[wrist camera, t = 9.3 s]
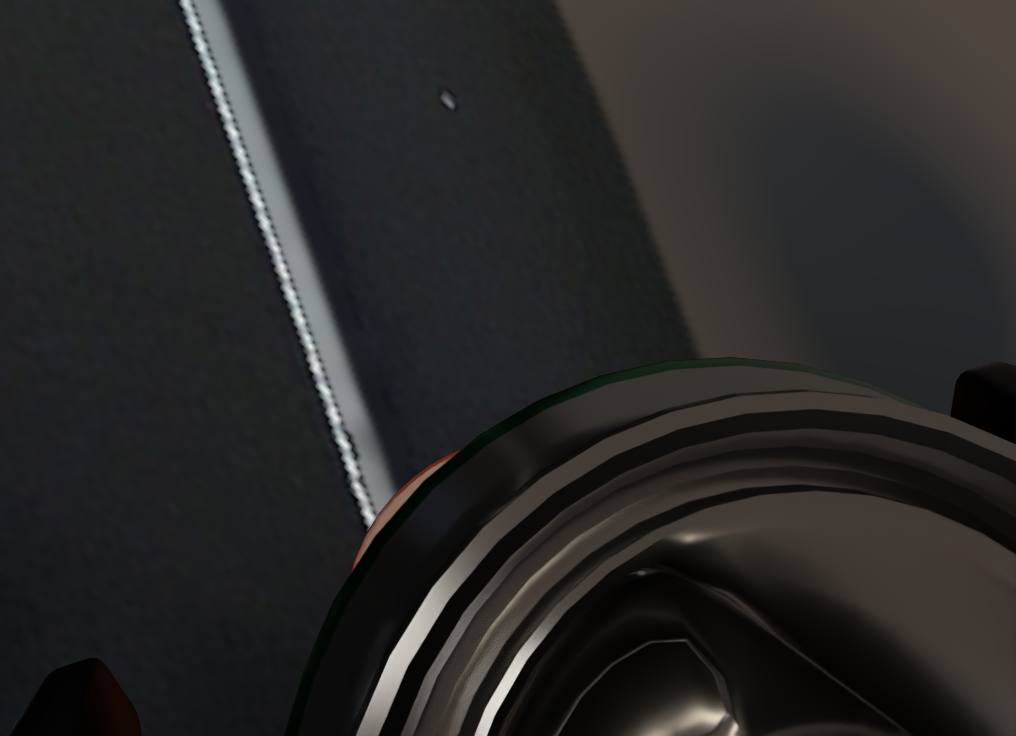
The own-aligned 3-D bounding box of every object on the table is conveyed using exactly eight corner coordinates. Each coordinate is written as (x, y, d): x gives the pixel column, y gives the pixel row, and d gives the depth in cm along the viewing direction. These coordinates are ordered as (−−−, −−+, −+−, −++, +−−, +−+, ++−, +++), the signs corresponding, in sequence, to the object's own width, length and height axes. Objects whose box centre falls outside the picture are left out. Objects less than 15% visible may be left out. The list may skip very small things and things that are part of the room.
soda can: (469, 434, 16) (573, 124, 4) (723, 567, 16) (1532, 620, 4) (326, 704, 15) (-48, 1266, 3) (599, 848, 15) (1220, 1956, 3)
